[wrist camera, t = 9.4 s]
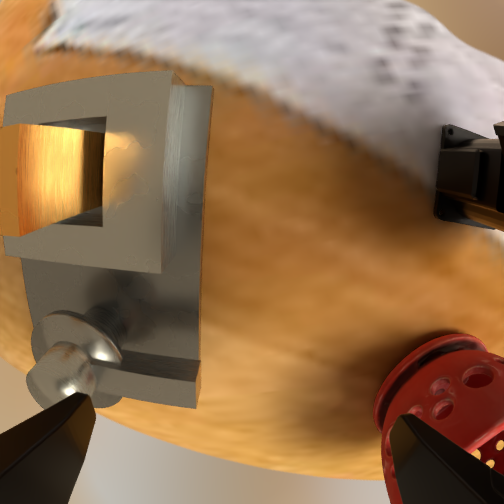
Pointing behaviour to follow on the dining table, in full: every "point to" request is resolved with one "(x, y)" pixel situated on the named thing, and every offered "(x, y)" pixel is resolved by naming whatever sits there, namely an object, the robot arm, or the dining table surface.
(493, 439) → the plant pot
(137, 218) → the grey metal frame fixture
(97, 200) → the rectangular wooden peg
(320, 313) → the dining table surface
